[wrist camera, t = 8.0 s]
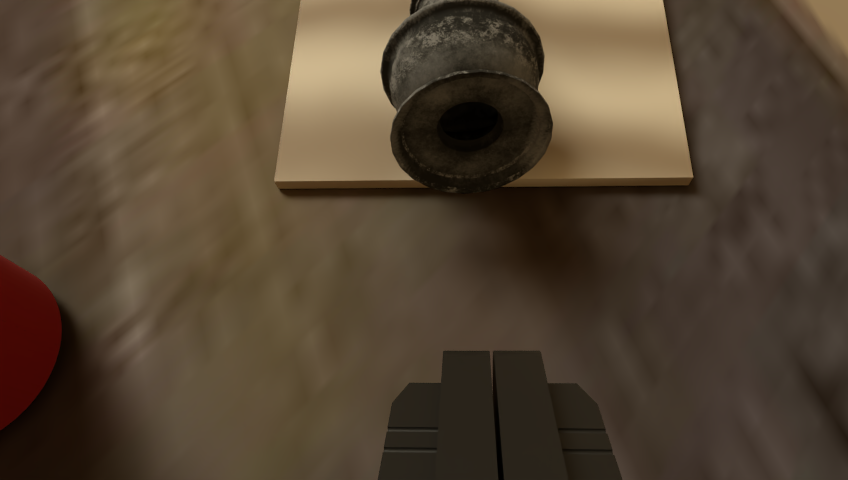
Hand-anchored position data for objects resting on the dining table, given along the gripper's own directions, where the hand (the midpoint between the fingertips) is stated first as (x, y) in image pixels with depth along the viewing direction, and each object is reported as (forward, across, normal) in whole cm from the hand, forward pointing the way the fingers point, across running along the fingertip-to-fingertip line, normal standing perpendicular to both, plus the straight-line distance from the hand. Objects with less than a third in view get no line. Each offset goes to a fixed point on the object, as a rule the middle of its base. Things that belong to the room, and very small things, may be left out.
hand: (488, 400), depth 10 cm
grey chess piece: (+12, 0, -2) cm, 12 cm away
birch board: (+21, 0, -5) cm, 22 cm away
